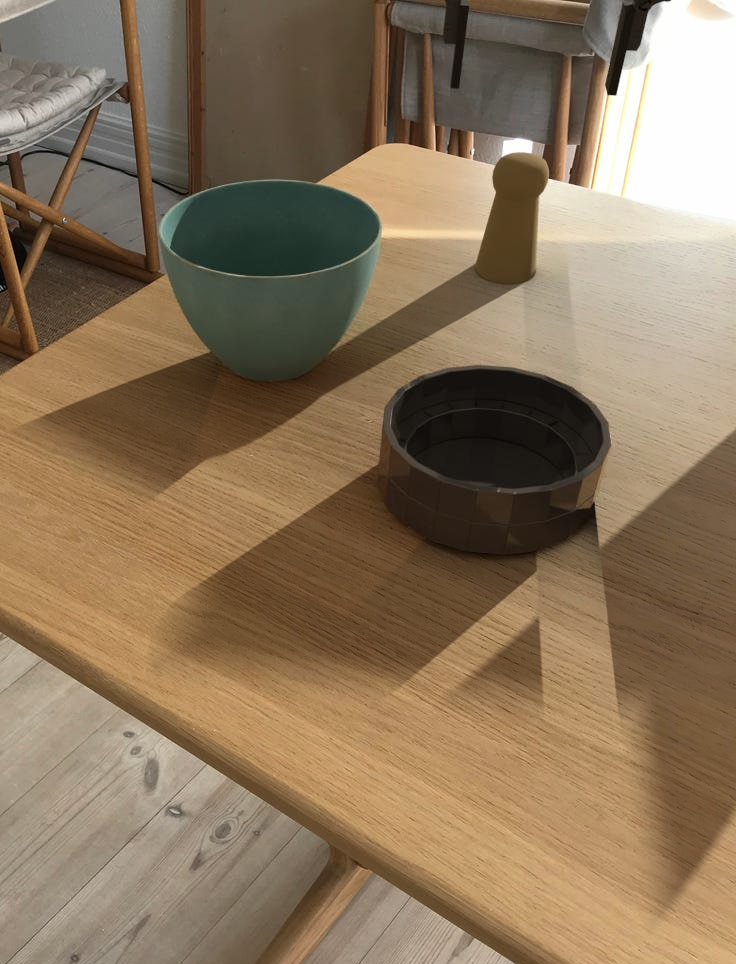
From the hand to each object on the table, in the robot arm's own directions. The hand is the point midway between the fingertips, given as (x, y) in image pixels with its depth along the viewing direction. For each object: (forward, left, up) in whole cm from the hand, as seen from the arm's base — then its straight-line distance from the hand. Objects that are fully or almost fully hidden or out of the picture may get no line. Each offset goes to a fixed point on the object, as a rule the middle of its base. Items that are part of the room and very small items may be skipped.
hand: (532, 87), depth 92 cm
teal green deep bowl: (+21, +20, -17) cm, 33 cm away
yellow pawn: (0, 0, -17) cm, 17 cm away
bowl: (+2, +37, -17) cm, 41 cm away
